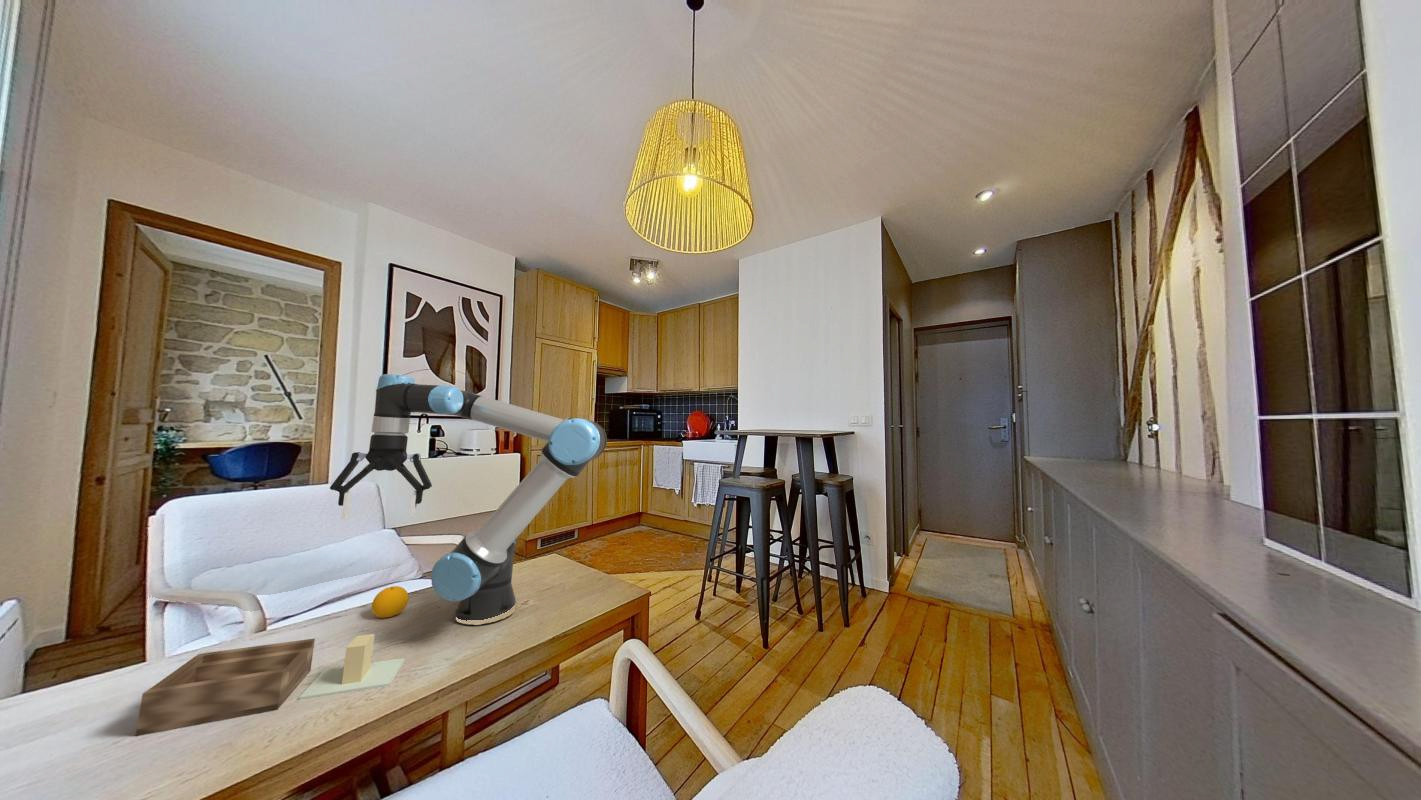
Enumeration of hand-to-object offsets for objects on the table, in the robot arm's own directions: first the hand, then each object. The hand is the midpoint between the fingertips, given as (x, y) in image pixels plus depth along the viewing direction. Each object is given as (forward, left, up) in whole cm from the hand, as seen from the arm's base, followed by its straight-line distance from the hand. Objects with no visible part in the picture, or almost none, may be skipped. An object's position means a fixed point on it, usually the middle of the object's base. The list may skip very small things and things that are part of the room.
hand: (379, 517), depth 101 cm
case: (+14, +20, -29) cm, 38 cm away
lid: (-4, +20, -29) cm, 35 cm away
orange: (-2, -12, -29) cm, 31 cm away
